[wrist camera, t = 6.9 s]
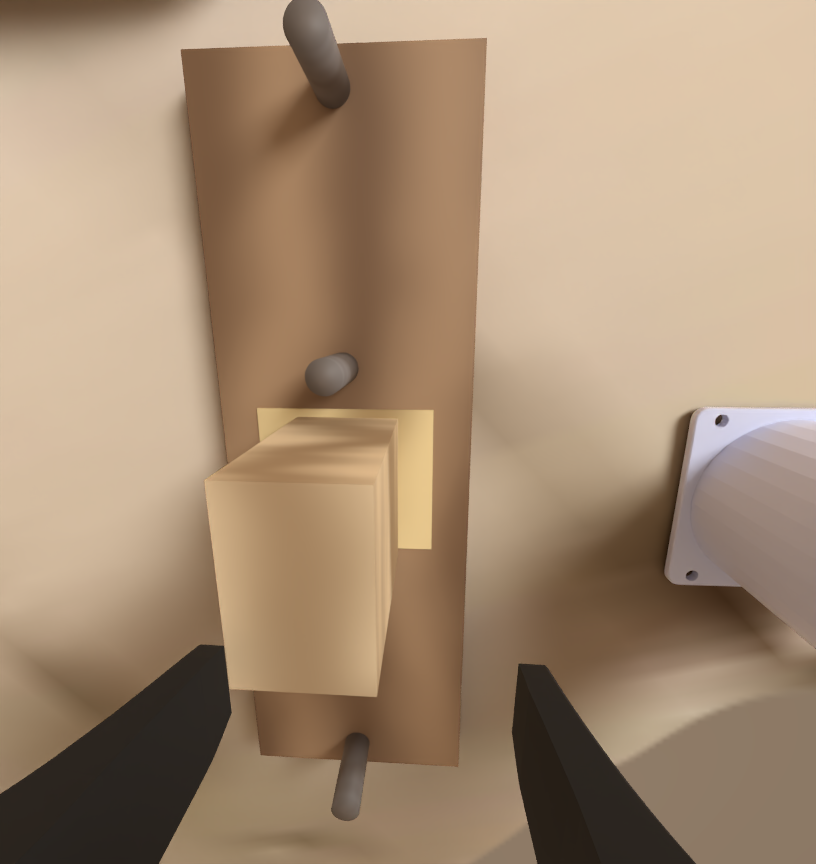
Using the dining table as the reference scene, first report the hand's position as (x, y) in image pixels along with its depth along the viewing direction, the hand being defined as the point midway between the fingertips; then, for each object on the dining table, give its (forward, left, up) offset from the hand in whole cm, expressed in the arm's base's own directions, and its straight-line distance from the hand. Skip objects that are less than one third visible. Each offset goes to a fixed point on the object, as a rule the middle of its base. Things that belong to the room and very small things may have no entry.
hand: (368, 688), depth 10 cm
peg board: (+2, -2, -9) cm, 10 cm away
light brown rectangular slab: (+2, -2, -8) cm, 8 cm away
